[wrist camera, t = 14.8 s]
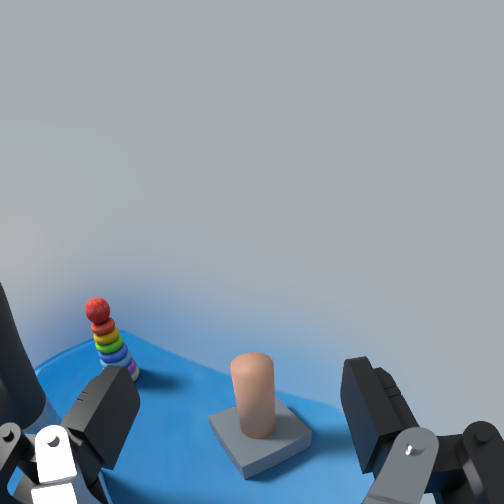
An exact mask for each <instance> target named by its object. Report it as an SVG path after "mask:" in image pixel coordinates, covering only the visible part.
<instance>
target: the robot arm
mask: <svg viewBox="0 0 504 504" xmlns="http://www.w3.org/2000/svg"><path fill="white" fill-rule="evenodd" d="M341 403H342V407H343V410H344V413H345V417H346V420H347V423H348V426H349V430H350V433H351V436H352V440H353V443H354V446H355V450H356V453H357V457H358V460H359V463H360V467H361V470H362V474H366V473H370V472H373V475H374V478H375V480H374V482H373V484H372V485H371V487H370V489H369V491H368V493H367V494H366V496H365V498H364V500H363V501H362V503H361V504H420V501H421V499H422V496H423V494H426V493H433V496H434V499H435V502H436V504H504V440H503V439H502V437H501V436H500V434H499V432H498V430H497V429H496V427H495V426H493V425H492V424H490V423H488V422H485V421H477V422H474V423H472V424H470V425H469V426H468V427H467V428H466V429H465V431H464V432H463V434H458V435H449V436H436V435H435V434H434V433H433V432H432V431H430V430H428V429H426V428H421V427H420V426H419V425H418V423H417V421H416V419H415V418H414V416H413V414H412V412H411V410H410V408H409V406H408V405H407V403H406V401H405V399H404V397H403V396H402V395H401V392H400V390H399V389H398V387H397V386H396V383H395V381H394V380H393V378H392V376H391V375H390V374H389V373H387V372H386V371H385V370H383V369H382V368H381V367H380V368H375V369H373V368H372V366H371V364H370V362H369V360H368V358H367V357H366V356H364V357H359V358H352V359H346V360H345V362H344V368H343V376H342V383H341ZM139 408H140V397H139V393H138V391H137V389H136V386H135V384H134V382H133V379H132V377H131V374H130V372H129V370H128V368H127V367H125V366H115V365H107V366H106V367H105V369H104V370H103V371H102V373H101V374H100V376H96V377H95V378H94V379H93V380H91V381H90V382H89V383H88V384H87V385H86V386H85V388H84V389H83V391H82V394H80V395H79V397H78V398H77V401H75V403H74V404H73V406H72V407H71V409H70V410H69V412H68V413H67V415H66V416H65V418H64V419H63V421H62V420H61V418H60V417H59V415H58V413H57V412H56V410H55V409H54V407H53V406H52V404H51V403H50V401H49V399H48V398H47V396H46V394H45V392H44V391H43V389H42V387H41V386H40V384H39V382H38V379H37V377H36V375H35V372H34V370H33V367H32V365H31V363H30V360H29V358H28V356H27V354H26V352H25V350H24V347H23V345H22V342H21V340H20V337H19V334H18V331H17V329H16V325H15V323H14V319H13V316H12V313H11V310H10V307H9V304H8V301H7V298H6V295H5V292H4V289H3V287H2V285H1V283H0V504H113V503H112V501H111V498H110V496H109V493H108V491H107V488H106V481H105V477H104V475H103V473H102V471H101V468H102V467H103V468H106V469H110V470H113V469H114V466H115V464H116V462H117V459H118V457H119V454H120V452H121V450H122V447H123V445H124V443H125V440H126V438H127V436H128V433H129V431H130V429H131V426H132V424H133V422H134V420H135V417H136V415H137V413H138V410H139ZM16 467H18V468H19V469H20V470H21V471H22V472H23V473H24V474H23V476H22V478H21V480H20V482H19V484H18V486H17V488H16V490H15V492H14V494H13V496H11V495H10V494H9V492H8V490H7V484H8V482H9V480H10V478H11V476H12V474H13V472H14V470H15V468H16Z"/></svg>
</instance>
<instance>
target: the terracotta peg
mask: <svg viewBox="0 0 504 504" xmlns="http://www.w3.org/2000/svg"><path fill="white" fill-rule="evenodd" d="M231 374H232V380H233V386H234V392H235V398H236V404H237V410H238V416H239V421H240V427H241V431H242V432H243V434H244V435H246V436H247V437H249V438H253V439H262V438H266V437H268V436H270V435H271V434H272V433H273V432H274V430H275V428H276V414H275V389H274V368H273V361H272V359H271V358H270V357H269V356H267V355H265V354H262V353H255V352H254V353H246V354H242V355H240V356H238V357H236V358H235V359H234V360H233V361H232V363H231Z"/></svg>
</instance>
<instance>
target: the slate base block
mask: <svg viewBox="0 0 504 504" xmlns="http://www.w3.org/2000/svg"><path fill="white" fill-rule="evenodd" d="M275 414H276V428H275V430H274V432H273V433H272V434H271V435H270V436H268V437H266V438H262V439H253V438H249V437H247V436H246V435H244V434H243V432H242V431H241V427H240V421H239V416H238V410H237V405H236V406H234V407H231V408H229V409H226V410H224V411H221V412H218V413H216V414H213V415H210V416H208V418H209V421H210V425H211V428H212V431H213V433H214V434H215V436H216V438H217V439H218V441H219V442H220V444H221V445H222V447H223V449H224V450H225V452H226V453H227V455H228V456H229V458H230V459H231V461H232V462H233V464H234V465H235V466H236V468H237V469H238V471H239V472H240V474H241V475H242V476H243V478H244V479H248V478H250V477H252V476H254V475H257V474H259V473H261V472H263V471H265V470H267V469H269V468H271V467H273V466H275V465H277V464H279V463H281V462H283V461H285V460H287V459H289V458H291V457H292V456H294V455H296V454H298V453H300V452H301V451H303V450H305V449H307V448H308V447H310V446H311V441H312V432H313V431H312V430H311V429H309V428H308V427H307V426H306V425H305V424H304V423H303V422H302V421H301V420H300V419H299V418H298V417H297V416H296V415H295V414H294V413H293V412H291V411H290V410H289V409H288V408H287V407H286V406H285V405H284V404H283V403H282V402H281V401H280V400H279V399H278V398H277V397H276V396H275Z"/></svg>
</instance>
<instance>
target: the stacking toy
mask: <svg viewBox="0 0 504 504" xmlns="http://www.w3.org/2000/svg"><path fill="white" fill-rule="evenodd" d="M85 312H86V316H87V317H88V319H89V320H90V321H91V322H93V323H92V325H91V329H92V331H93V332H94V340H95V342H96V348H97V350H98V354H99V357H100V358H101V360H100V361H101V365H102V366H103V370H104V369H105V367H106V366H107V365H115V366H125V367H127V368H128V370H129V372H130V374H131V377H132V379H133V382H134V381H135V380H136V379H137V378H138V376H139V367H138V366H137V365H136V363H135V360H134V359H133V358H132V356H131V353H130V351H129V350H128V349H127V345H126V344H125V343H124V342H123V339H122V337H121V336H120V335H119V331H118V329H117V328H116V327H115V322H114V320H113V319H112V318H110V317H109V315H110V308H109V305H108V303H107V302H106V301H105V300H104V299H102V298H99V297H95V298H92V299H90V300H89V301H88V302H87V304H86V307H85Z"/></svg>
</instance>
